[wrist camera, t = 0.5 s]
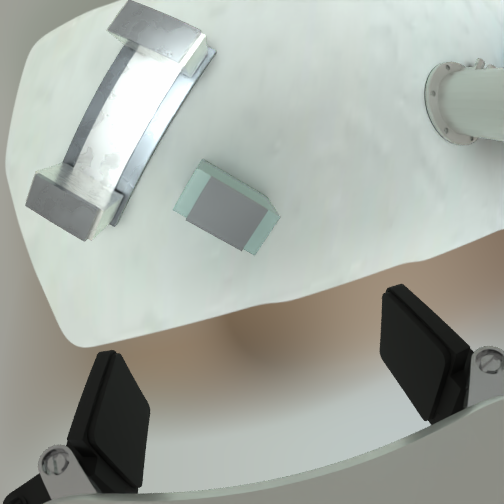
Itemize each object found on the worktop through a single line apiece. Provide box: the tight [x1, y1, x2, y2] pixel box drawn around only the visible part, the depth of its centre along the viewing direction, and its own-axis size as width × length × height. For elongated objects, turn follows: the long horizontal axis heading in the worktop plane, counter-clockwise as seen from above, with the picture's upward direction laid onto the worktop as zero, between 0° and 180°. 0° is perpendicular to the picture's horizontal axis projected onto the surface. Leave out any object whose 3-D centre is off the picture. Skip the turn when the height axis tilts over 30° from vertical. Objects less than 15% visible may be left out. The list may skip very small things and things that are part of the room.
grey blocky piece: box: [25, 0, 216, 242], centre depth 28 cm, size 24×10×10 cm, turn 148°
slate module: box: [173, 159, 280, 255], centre depth 33 cm, size 5×9×10 cm, turn 58°
